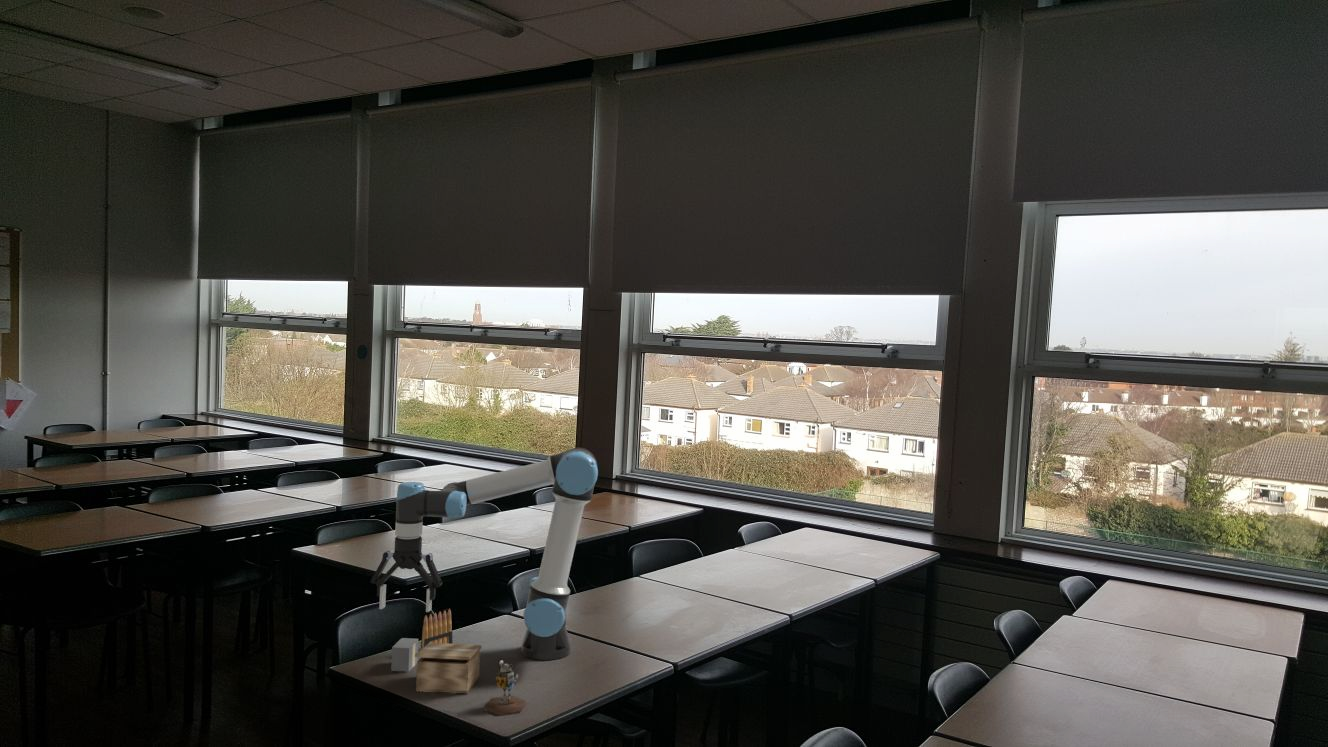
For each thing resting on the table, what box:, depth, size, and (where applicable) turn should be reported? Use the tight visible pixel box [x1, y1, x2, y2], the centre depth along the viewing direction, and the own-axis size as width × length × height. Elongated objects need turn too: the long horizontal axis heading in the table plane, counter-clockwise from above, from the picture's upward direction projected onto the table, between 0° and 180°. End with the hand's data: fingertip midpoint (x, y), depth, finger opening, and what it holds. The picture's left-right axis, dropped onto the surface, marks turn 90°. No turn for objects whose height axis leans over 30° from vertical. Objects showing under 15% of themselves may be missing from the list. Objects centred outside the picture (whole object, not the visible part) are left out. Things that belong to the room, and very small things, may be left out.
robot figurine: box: [484, 660, 527, 717], centre depth 221 cm, size 11×9×12 cm
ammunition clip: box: [420, 608, 453, 650], centre depth 260 cm, size 11×2×12 cm, turn 143°
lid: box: [415, 643, 482, 660], centre depth 234 cm, size 15×13×1 cm
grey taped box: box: [390, 637, 419, 673], centre depth 246 cm, size 5×8×7 cm, turn 178°
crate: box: [415, 649, 481, 694], centre depth 235 cm, size 14×12×8 cm
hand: (405, 609), depth 246 cm, fingers open, 13 cm apart
